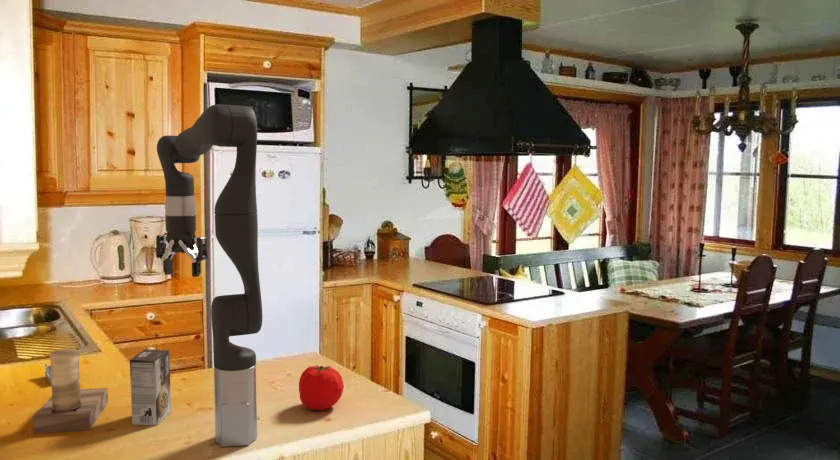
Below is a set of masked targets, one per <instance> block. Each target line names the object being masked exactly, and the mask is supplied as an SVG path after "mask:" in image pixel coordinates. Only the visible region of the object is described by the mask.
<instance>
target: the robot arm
mask: <svg viewBox="0 0 840 460" xmlns="http://www.w3.org/2000/svg"><path fill="white" fill-rule="evenodd" d="M213 146H216V147H221V148H225V147H226V148H236V157H235V164H234V168H233V170H232V173H231V175H230V177H229V178H228V180H227V182H226V184H225V185H224V187H223V189H222V190H221V192H220V194H219V196H218V198H217V200H216V202H215V204H214V233H215V238H216V240H217V243H218V244H219V246H220V247H221V249H222V251H224V252H225V254H226V256H227V257H228V258H229V260H230V261H231V262H232V263H233V265H234V267H235V268H236V270H237V271H238V272H237V273H239V275H240V278H241V281H242V285H243V292H244V293H237V294H236V293H235V294H225V295H222V294H221V295H216V296H215V297H214V298H213V300H212V301H211V308H210V320H211V329H212V347H213V349H212V350H213V376H214V377H213V380H214V381H213V384H214V386H213V387H214V389H213V390H214V433H215V434H214V435H215V436H214V437H215V442H216V443H217V444H219V446H220V447H221V448H226V447H238V446H239V447H241V446H242V447H243V446H250V445H251V443H252V442H254V441H255V440H257V438H258V407H257V406H258V405H257V403H258V402H257V401H258V400H257V395H258V394H257V354H256V352H255V351H254V350H253V349H252V348H249V347H245V346H240V345H237V344H234V343H232V342H231V341H230V337H236V336H237V337H238V336H247V335H254V334H258V333H259V332H260V331H261V329H262V326H263V318H264V317H263V305H262V303H263V302H262V293H261V292H262V291H261V282H260V272H259V271H260V270H259V253H258V251H259V250H258V247H259V246H258V244H259V243H258V241H259V240H258V238H259V237H258V236H259V235H258V233H259V232H258V231H259V230H258V229H259V228H258V206H257V205H258V203H257V184H256V183H257V182H256V179H257V178H256V177H257V176H256V175H257V173H256V170H257V167H256V164H257V148H258V147H257V146H258V120H257V116H256V113H255V111H254V109H253V108H252V107H250V106H246V105H238V104H237V105H235V104H234V105H233V104H224V103H219V104H212V105H210V106H209V107H207V108H206V109H204V110H203V112H202V113H201V115H200V116H199V117H198V118H197V119H196V121H195V122H194V124H193V125H192V126H191V127H188V128H186V129H185V130H183V131H181V132H179V134H178V135H171V134H170V135H168V134H167V135H163V136H161V137H160V138H159V139H158V141H157V143H156V153H157V156H158V160H159V162H160V166H161V169H162V171H163V172H162V173H163V177H164V186H165V202H164V219H165V223H164V224H165V231H166V232H167V233H166V234H167V235H166V234H158V235H156V237H155V238H156V239H155V240H156V242H155V246H156V247H155V257H156V258H157V259H161V260H162V265H163V266H162V269H163V273H164V275H166V276H169V275H172V274H173V259H172V258H173V257H174V255H175V254H177V253H180V254H186V256H187V257H189V258H190V260H191V261H192V263H191V275H192V278H198V277H200V275H201V273H202V261H205V260H208V258H209V256H208V243H207V241H208V240H207V237H206V236H199V237H197V236H196V231H197V212H196V211H197V209H196V198H195V180H194V179H195V178H194V176H193V174H191V173H189V172H184V171H179V170H178V169H177V167H176V164H192V163H193V164H194V163H196V162H198V161H199V159H200V157H201V156H203V155H204V154H206V153H208V152H210V150H211V149H212V147H213ZM167 244H168V245H167Z"/></svg>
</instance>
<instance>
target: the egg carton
mask: <svg viewBox="0 0 840 460" xmlns="http://www.w3.org/2000/svg"><path fill="white" fill-rule="evenodd" d="M44 367H45V370H44V371H45V372H44V376H45V379H46V380H47V382H49V384H50V386H52V383H51V365H47V363H45V364H44Z"/></svg>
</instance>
